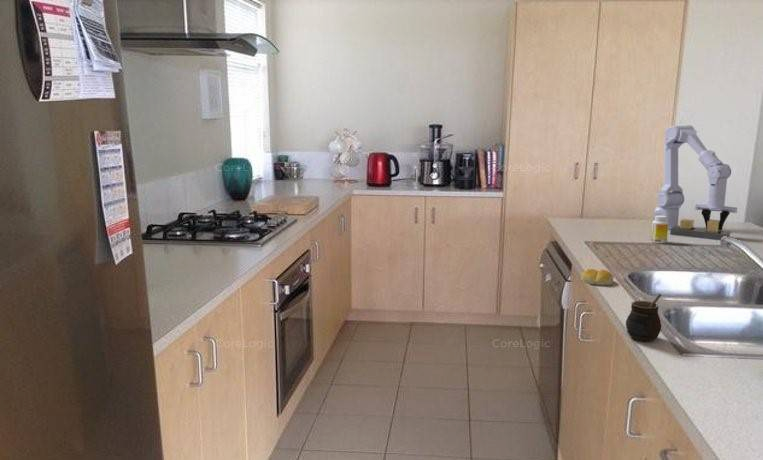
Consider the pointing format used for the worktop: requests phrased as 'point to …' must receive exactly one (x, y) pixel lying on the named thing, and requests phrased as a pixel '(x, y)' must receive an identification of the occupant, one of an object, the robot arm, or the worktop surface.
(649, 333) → the mate gourd
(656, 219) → the supplement bottle
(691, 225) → the beige wooden block
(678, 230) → the rail
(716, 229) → the tan wooden block
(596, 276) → the bread roll
